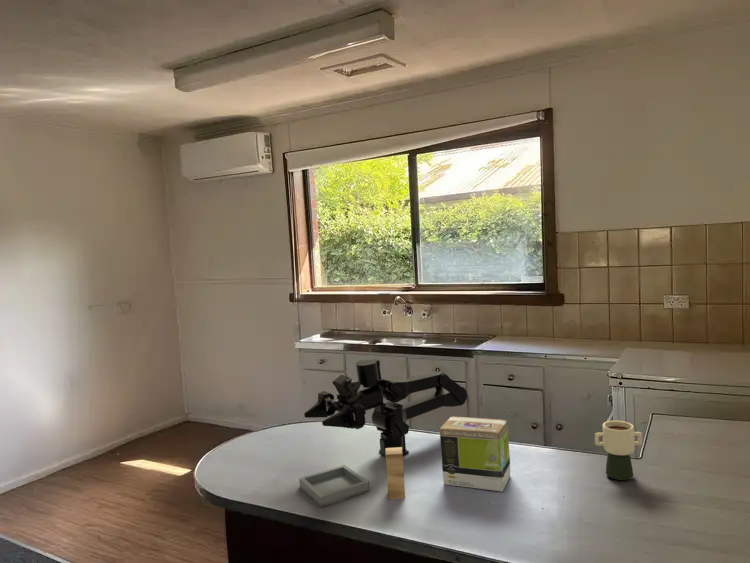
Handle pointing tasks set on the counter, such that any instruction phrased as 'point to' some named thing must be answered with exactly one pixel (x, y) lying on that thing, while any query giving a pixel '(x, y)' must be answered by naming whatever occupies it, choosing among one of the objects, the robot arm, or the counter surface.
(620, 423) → the character mug
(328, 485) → the tray
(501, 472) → the tea box
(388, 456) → the oak post
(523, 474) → the counter surface
